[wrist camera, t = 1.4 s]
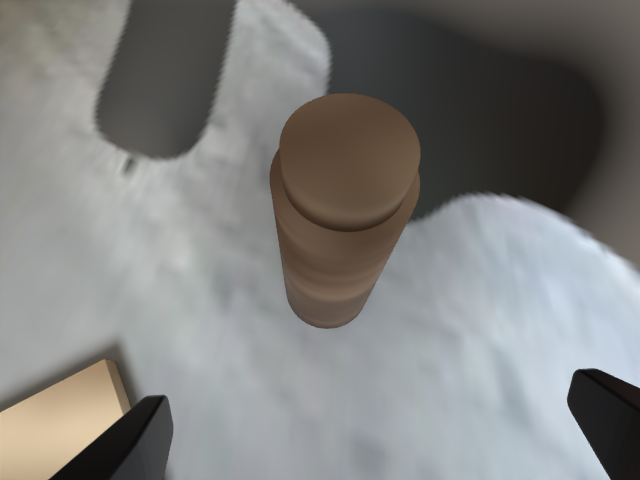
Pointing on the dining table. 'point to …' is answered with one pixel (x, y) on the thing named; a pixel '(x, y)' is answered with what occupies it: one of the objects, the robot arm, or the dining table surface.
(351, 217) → the pepper mill
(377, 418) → the dining table surface
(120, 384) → the board
